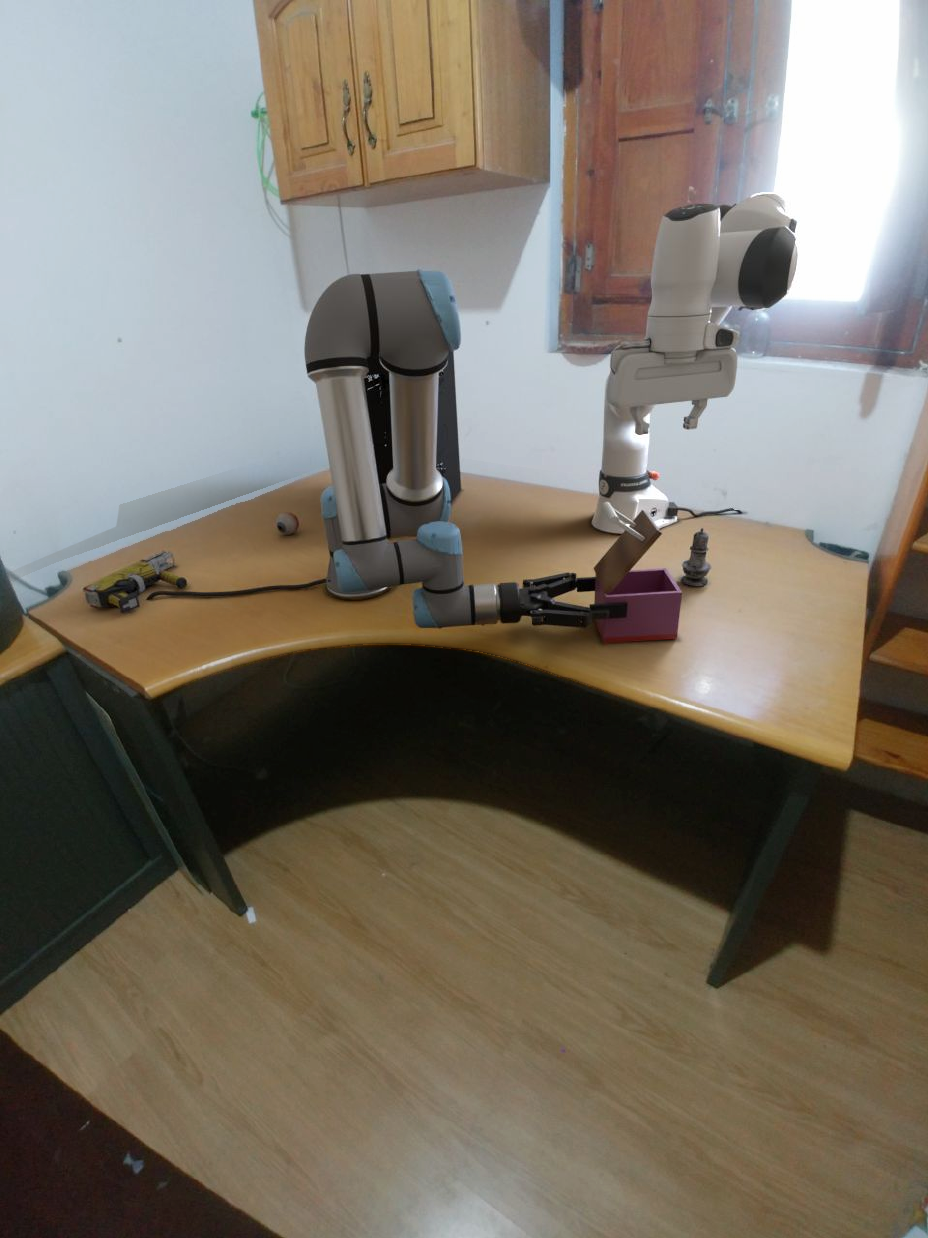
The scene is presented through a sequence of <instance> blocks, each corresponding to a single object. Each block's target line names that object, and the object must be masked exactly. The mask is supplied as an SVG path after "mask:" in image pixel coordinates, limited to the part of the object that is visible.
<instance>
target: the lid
mask: <svg viewBox="0 0 928 1238" xmlns="http://www.w3.org/2000/svg"><path fill="white" fill-rule="evenodd" d="M602 509H603V510H604V512H605V514H606V516H607V518H608V519H609V521H610V523H611V524H612V525H616V524H617V525H618V526H620V527H621V528H623V529H624V530H625V531H624V532H623V533H622V534H621V535H619V537H618V538H617V539H616V541H614V542H613V544H612V545H611V546H610V548H609V549H608V550H607V551H606V553H604V555H603V556H602V557H601V559H600V560H598V562H597V563H596V564H595V565H594V567H593V570H594V573H595V574H596V575H597V578H598V580H599V583H600V585H601V588H602V590H603V592H604V593H605V594H607V595H609V594H610V593H611V592H612V591H613V589H614V588H615V587H616V586H617V585H618V584H619V583H620V581H621V580H622V579H623V578H624V577H625V576H626V575H627V573H628V572H629V571H630V570H632V569H633V568H634V567H635V565H636V564H638V562H639V561H641V559H642V558H643V556H644V555H645V554H646V553H647V552H648V550H650V548H651V547H652V546H654V544H655V543H656V541H658V539H659V538H660V537H661V536H662V535H663V532H662V531H661V530H660V529H659V528H658V527H657V526H656V524H655V523H654V521H653V520H652V519H651V517H650V516H649V515H648V513H647V512H646V511H644V510H642V511H641V512H640V513H639V514H638V516H637V517H636V518H635V519H634V520H633V521H631V520H630V519H628V518H627V517H625V516H624V515H622V514H621V513H619V512H618V511H616V510H615V509H613V508H612V506H611V504H610V503H609V502H604V503H603V504H602ZM618 517H619V518H620V519H622V520H623V521H625V522H626V523H628V524H629V526H627V525H626V524H624V523H623V522H621V521H620V520H619V518H618Z"/></svg>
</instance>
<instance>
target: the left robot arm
mask: <svg viewBox="0 0 928 1238" xmlns="http://www.w3.org/2000/svg"><path fill="white" fill-rule="evenodd" d="M455 294H456V293H455V291H454V287H453V285H452V282H451V280H450V279H449V277H448V275H447V274H446V273H444V272H443V271H440V270H423V269H422V270H421V269H417V270H408V271H407V270H406V271H393V272H379V273H377V272H375V273H362V274H360V273H351V274H347V275H344V276H341V277H340V278H338V279H336V280H335V281H333V282H332V283H331V284H329V286H327V287H326V289H325V290H323V292H322V293H321V295H319V298H318V299H317V301H316V302H315V305H314V306H313V309H312V311H311V314H310V316H309V319H308V322H307V325H306V326H307V327H306V332H305V337H304V352H303V353H304V361H305V370H306V374H307V378H309V379H310V381H312V382H313V383H314V384H315V389H316V395H317V401H318V406H319V411H320V417H321V418H320V419H321V424H322V429H323V436H324V441H325V448H326V453H327V460H328V466H329V471H330V477H331V485H329V486H328V487H326V488H325V489H324V490H323V491H322V493H321V495H320V506H321V508H320V509H321V513H320V514H321V517H322V518H323V523H324V529H325V535H326V542H327V548H328V554H329V562H328V568H327V571H326V572H327V574H326V577H325V578H322V579H318V580H314V581H311V582H307V583H302V584H278V585H277V584H275V585H266V586H259V587H253V588H247V589H239V590H227V591H189V590H188V591H187V590H185V591H184V590H177V591H176V590H175V591H174V590H156V591H154V592H151V593H150V594H149V595H147V597H146V600H145V601H151V600H153V599H154V598H156V597H158V596H169V597H171V596H175V597H178V596H179V597H181V596H185V597H187V596H188V597H202V598H203V597H206V598H207V597H228V596H230V597H231V596H240V595H241V596H242V595H249V594H254V593H262V592H268V591H278V590H279V591H281V590H302V589H308V588H312V587H315V586H318V585H322V584H323V585H324V584H326V590H327V593H328V594H329V595H330V596H332V597H333V598H336V599H339V600H345V601H362V600H363V601H364V600H368V599H373V598H376V597H379V596H382V595H383V594H385V593H387V592H389V591H390V590H391V589H393V588H394V587H397V586H403V585H410V584H417V583H421V586H422V587H418V588H417V587H416V588H415V589H414V590H413V592H412V607H413V618H414V624H415V625H416V626H417V627H418V628H420V629H439V630H440V629H443V628H454V627H465V626H466V627H467V626H482V627H483V626H486V625H496V624H498V621H499V622H500V624H502V625H504V624H517V623H520V622H521V619H522V617H530V618H531V625H532V626H534V627H535V626H536V627H537V626H556V627H568V628H579V629H581V628H582V629H588V628H589V627H590V625H591V621H592V620H594V621H595V620H596V619H610V618H626V616H627V605H628V604H627V602H619V603H604V604H594V603H591V604H589V607H588V606H584V605H578V604H574V603H573V604H572V603H569V602H562V601H557V600H555V599H554V598H556V597H559V596H562V595H565V594H567V593H568V594H569V593H570V592H573V591H575V590H576V592H577V593H588V592H595V576H586V577H577V573H576V572H563V573H559V574H553V575H547V576H542V577H539V578H538V577H537V578H528V579H523V580H522V587H521V588H520V586H519V583H518V582H516V581H509V582H508V581H507V582H499V583H498V584H497V585H496V584H495V583H494V582H492V583H490V582H489V583H477V584H465V580H464V559H463V558H464V555H463V554H464V549H463V545H462V537H461V531H460V528H459V527H458V526H457V525H456V524H454V523H452V522H450V517H451V512H452V505H451V504H450V501H451V496H450V489H449V486H448V483H447V481H446V479H445V478H444V477H442V476H441V474H440V472H439V471H438V470H437V469H436V447H437V413H438V379H439V372H441V371H442V370H443V369H444V368H445V367H446V365H447V363H448V351H451V352H453V351H454V352H455V351H457V350H459V348H460V346H461V342H462V331H461V322H460V315H459V308H458V303H457V299H456V295H455ZM367 357H379V359H380V363H381V365H382V366H383V367H384V368H385V369H386V370H387V371H389V380H390V403H391V426H392V448H393V469H392V470H391V471H390V472H389V474H388V476H387V483H385V484H379V481H378V474H377V467H376V460H375V453H374V447H373V446H374V445H373V440H372V433H371V426H370V419H369V412H368V406H367V399H366V392H365V385H364V378H365V376H366V374H367V373H368V372H369V368H368V361H367ZM442 372H443V371H442ZM411 536H416V538H411V539H406V540H398V541H392V542H391V541H390V542H388V539H396V538H405V537H411Z"/></svg>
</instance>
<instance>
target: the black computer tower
mask: <svg viewBox="0 0 928 1238" xmlns="http://www.w3.org/2000/svg"><path fill="white" fill-rule="evenodd" d="M454 353H455V351H453V352H451V351H448V363H447V365H446V367H445V368H444V369H443V370H442V371H441V372H439V379H438V413H437V447H436V469H437V470H438V471H439V472H440V474H441V476H442V477H444V478H445V479H446V481H447V483H448V486H449V489H450V496H451V501H450V505H451V504H452V503H453V501H454V500H455V499H456V498H457V496H458V495H459V493H460V492H461V491H462V481H461V461H460V443H459V427H458V426H459V425H458V409H457V391H456V390H457V389H456V388H457V387H456V371H455V356H454V355H455V354H454ZM367 361H368V368H369V372H368V373H367V374H366V376H365V377H364V385H365V392H366V399H367V406H368V412H369V419H370V426H371V433H372V440H373V447H374V453H375V460H376V467H377V474H378V481H379V484H385V483H387V476H388V474H389V472H390V471H391V470H392V469H393V448H392V426H391V403H390V380H389V371H387V370H386V369H385V368H384V367H383V366H382V365H381V363H380V359H379V357H367Z"/></svg>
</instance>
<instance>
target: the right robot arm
mask: <svg viewBox="0 0 928 1238" xmlns="http://www.w3.org/2000/svg"><path fill="white" fill-rule="evenodd" d="M800 240H801V224H800V221H799V220H798V219H797V218H795V217H794V210H793V206H792V203H791V202H790V201H789V199H788V198H787V197H786V196H784V195H782V194H781V193H779V192H778V193H777V192H772V191H771V192H770V191H769V192H767V191H765V192H759V193H755V194H753V195H750V196H749V197H746V198H744V199H743V200H741V201H739V202H738V203H734V204H733V205H729V204H719V205H716V204H714V203H713V204H712V203H695V204H689V205H685V206H680V207H676V208H673V209H671V210H669V211H667V212H666V213H665V214H664V215H663V216H662V217H661V220H660V224H659V227H658V230H657V236H656V240H655V245H654V251H653V258H652V264H651V265H652V266H651V274H650V286H651V302H650V305H649V308H648V311H647V319H646V329H645V330H646V331H645V337H644V338H642V339H637V340H624V341H621V342H619V344H618V345H616V346H615V347H614V348H613V350H612V351H611V353H610V358H609V359H610V360H609V367H610V371H609V374H608V376H607V378H606V379H605V384H604V400H603V401H604V403H603V431H602V432H603V435H602V436H603V437H602V453H601V468H600V470H599V474H598V492H599V493H598V498H597V502H596V507H595V511H594V514H593V517H592V520H591V525H592V526H593V527H594V528H595V529H597V530H599V531H601V532H605V533H611V534H621V535H622V533H623V532H624V531H625V530H624V529H623V528H621V527H620V526H618V525H617V524H616V525H612V524H611V523H610V521H609V519H608V518H607V516H606V514H605V512H604V510H603V509H602V504H603V503H604V502H609V503H610V504H611V506H612V508H613V509H615V510H616V511H618V512H619V513H621V514H622V515H624V516H625V517H627V518H628V519H630V520H631V521H633V520H634V519H635V518H636V517H637V516H638V514H639V513H640V512H641V511H642V510H644V511H646V512H647V513H648V515H649V516H650V517H651V519H652V520H653V521H654V523H655V524H656V526H657V527H658V528H659V530H660V529H662V528H665V527H668V526H670V525H672V524H675V523H677V522H678V513H679V511H681V512H682V511H683V512H688V513H690V514H691V516H693V517H695V518H697V517H702V516H704V515H718V514H724V513H728V512H736V513H738V514H740V515H741V514H744V512H743V511H742V510H740V509H739V510H734V509H733V508H734V507H729V508H724V509H721V510H710V511H709V510H708V511H702V512H699V513H696V512H694V510H692V509H690V508H687V507H678V505H677V504H676V503H675V502H674V501H669V498H668V497H667V496H666V495H665V494H664V493H663V492H661V491H660V490H659V489H658V488H656V487H655V486H654V485H652V483H651V480H653V481H658V479H659V478H660V473H659V472H657V471H654V470H651V471H649V470H648V469H647V466H648V458H649V457H648V455H649V447H650V413H652V411H653V410H654V408H655V406H656V405H657V406H658V405H664V404H665V405H666V404H675V403H683V402H691V405H692V408H691V410H690V412H689V414H688V415H687V416H683V423H682V428H683V429H684V430H687V431H688V430H696V429H698V422H699V418H700V417H701V416H702V414H703V413H704V411H705V410H706V408H707V406H708V400H711V399H720V398H727V397H729V395H731V393H732V392H733V390H734V388H735V385H736V377H737V370H738V353H737V351H736V349H735V348H734V347H736V346H737V345H738V344H739V340H740V332H739V331H738V330H735V329H732V328H728V327H725V326H722V325H721V323H722V322H723V321H724V320H725V318H726V317H727V315H728V314H729V313H730V311H731V310H732V308H734V307H736V308H737V307H738V309H737V310H738V311H739V312H740V311H742V310H743V309H746V310H750V311H757V310H762V309H771V308H772V307H773V306H775V305H776V304H778V303H779V302H780V301H781V300H783V298H784V297H786V296H787V295H788V294H789V291H790V289H791V287H792V285H793V283H794V281H795V279H796V275H797V273H798V267H799V259H800V251H799V244H800ZM618 518H619V517H618ZM619 520H620V521H621V522H623V523H624V524H626V525H627V526H629V524H628V523H626V522H625V521H623V520H622V519H620V518H619Z"/></svg>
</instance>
